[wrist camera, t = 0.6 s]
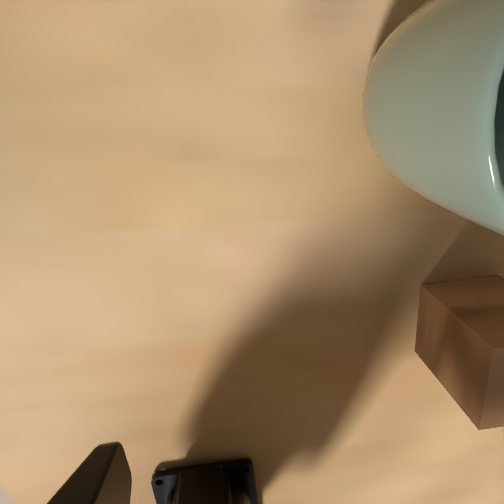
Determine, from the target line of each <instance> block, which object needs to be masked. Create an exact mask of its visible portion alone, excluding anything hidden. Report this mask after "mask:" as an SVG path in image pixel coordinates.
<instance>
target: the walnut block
mask: <svg viewBox="0 0 504 504" xmlns="http://www.w3.org/2000/svg"><path fill="white" fill-rule="evenodd" d="M415 352H416V353H417V354H418V356H419V357H420V358H421V359H422V361H423V362H424V363H425V364H426V365H427V367H428V368H429V369H430V370H431V372H432V373H433V374H434V375H435V377H436V378H437V379H438V380H439V381H440V383H441V384H442V385H443V386H444V388H445V389H446V390H447V391H448V393H449V394H450V395H451V396H452V398H453V399H454V400H455V401H456V402H457V404H458V405H459V406H460V407H461V409H462V410H463V411H464V412H465V414H466V415H467V416H468V417H469V418H470V420H471V421H472V422H473V423H474V425H475V426H476V427H477V428H478V430H482V429H489V428H496V427H502V426H504V279H503V278H502V277H500V276H498V275H494V276H486V277H478V278H470V279H462V280H454V281H446V282H438V283H430V284H421V287H420V298H419V310H418V321H417V333H416V344H415Z"/></svg>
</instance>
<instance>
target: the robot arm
mask: <svg viewBox="0 0 504 504" xmlns="http://www.w3.org/2000/svg"><path fill="white" fill-rule="evenodd" d="M131 484H132V478H131V471H130V468H129V465H128V462H127V458H126V455H125V452H124V449H123V446H122V444H121V443H120V442H111V443H105V444H100V445H98V446H97V447H96V448H95V449H94V450H93V451H92V452H91V453H90V454H89V455H88V457H87V458H86V459H85V460H84V461H83V462H82V464H81V465H80V466H79V467H78V468H77V469H76V470H75V472H74V473H73V474H72V475H71V476H70V477H69V479H68V480H67V481H66V482H65V483H64V484H63V485H62V487H61V488H60V489H59V490H58V491H57V492H56V494H55V495H54V496H53V497H52V498H51V499H50V500H49V502H48V503H47V504H130V495H131ZM151 484H152V488H153V492H154V496H155V499H156V503H157V504H258V503H257V495H256V486H255V478H254V469H253V463H252V461H251V460H250V459H239V460H232V461H226V462H219V463H212V464H205V465H198V466H191V467H184V468H177V469H171V470H164V471H158V472H155V473H154V474H153V475H152V481H151Z"/></svg>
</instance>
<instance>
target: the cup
mask: <svg viewBox="0 0 504 504" xmlns="http://www.w3.org/2000/svg"><path fill="white" fill-rule="evenodd" d="M363 118H364V124H365V129H366V132H367V135H368V138H369V141H370V144H371V146H372V148H373V150H374V152H375V153H376V155H377V157H378V159H379V160H380V161H381V163H382V164H383V165H384V166H385V167H386V168H387V170H388V171H389V172H390V173H391V174H392V175H393V176H394V177H395V178H396V179H397V180H399V181H400V182H401V183H403V184H404V185H406V186H407V187H409V188H410V189H412V190H413V191H415V192H416V193H418V194H419V195H421V196H422V197H424V198H426V199H428V200H429V201H431V202H433V203H435V204H437V205H439V206H441V207H443V208H444V209H446V210H449V211H451V212H453V213H455V214H457V215H459V216H461V217H463V218H466V219H468V220H470V221H472V222H474V223H476V224H479V225H481V226H483V227H485V228H487V229H490V230H492V231H494V232H496V233H499V234H501V235H503V236H504V0H428V1H427V2H426V3H424V4H423V5H421V6H420V7H419V8H417V9H416V10H415V11H413V12H412V13H411V14H410V15H409V16H407V17H406V18H405V19H404V20H403V21H402V22H401V23H400V24H399V25H398V26H397V27H396V28H395V29H394V30H393V31H392V32H391V34H390V35H389V36H388V37H387V38H386V39H385V40H384V41H383V43H382V45H381V46H380V48H379V49H378V51H377V52H376V54H375V56H374V57H373V60H372V62H371V65H370V67H369V70H368V73H367V75H366V78H365V84H364V90H363Z"/></svg>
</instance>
